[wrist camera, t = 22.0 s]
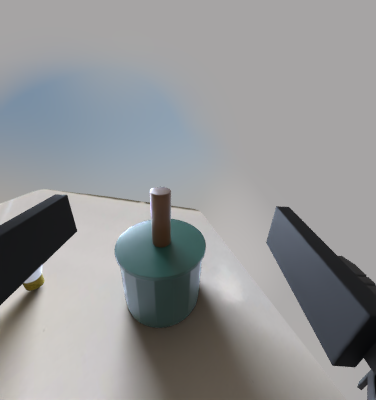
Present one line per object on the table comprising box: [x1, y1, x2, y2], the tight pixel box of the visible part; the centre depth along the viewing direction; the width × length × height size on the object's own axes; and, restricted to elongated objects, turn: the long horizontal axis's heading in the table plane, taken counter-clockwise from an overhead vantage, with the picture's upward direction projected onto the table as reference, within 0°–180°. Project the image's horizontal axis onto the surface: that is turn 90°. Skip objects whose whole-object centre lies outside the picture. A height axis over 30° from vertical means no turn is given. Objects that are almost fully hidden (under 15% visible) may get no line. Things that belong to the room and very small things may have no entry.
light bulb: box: [23, 264, 44, 291], centre depth 30 cm, size 6×6×10 cm
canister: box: [120, 261, 202, 328], centre depth 30 cm, size 13×13×10 cm
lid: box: [115, 187, 206, 281], centre depth 26 cm, size 14×14×10 cm
